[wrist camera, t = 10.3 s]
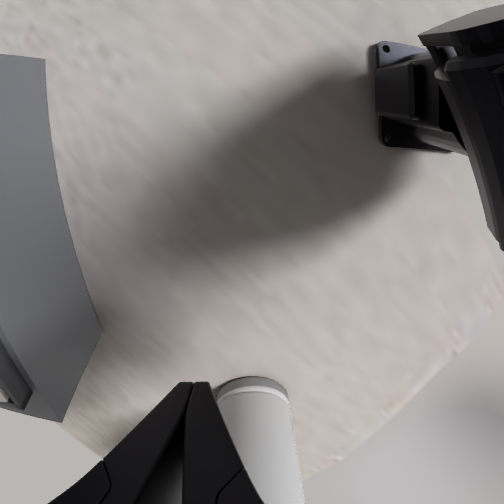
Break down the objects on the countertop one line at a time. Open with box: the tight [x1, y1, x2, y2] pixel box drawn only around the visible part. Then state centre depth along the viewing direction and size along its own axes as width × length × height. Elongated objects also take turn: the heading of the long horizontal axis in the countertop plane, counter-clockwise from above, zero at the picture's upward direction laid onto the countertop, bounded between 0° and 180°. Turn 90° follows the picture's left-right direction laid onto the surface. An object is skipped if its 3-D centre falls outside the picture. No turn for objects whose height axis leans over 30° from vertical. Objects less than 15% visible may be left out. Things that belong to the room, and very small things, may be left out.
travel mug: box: [217, 377, 305, 504], centre depth 17 cm, size 6×7×20 cm
